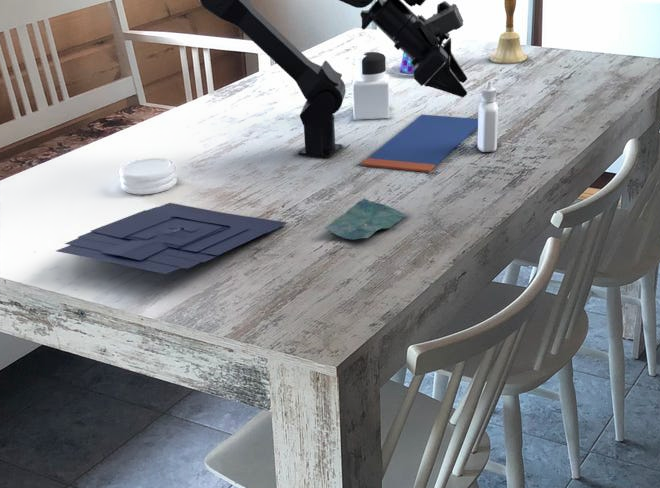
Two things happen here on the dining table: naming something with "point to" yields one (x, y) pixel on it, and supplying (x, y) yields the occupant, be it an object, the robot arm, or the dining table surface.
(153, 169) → the white round disc stack
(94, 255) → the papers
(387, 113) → the medicine bottle
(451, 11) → the robot arm
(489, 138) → the eye dropper bottle
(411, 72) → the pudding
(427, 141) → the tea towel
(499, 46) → the hand bell
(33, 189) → the dining table surface
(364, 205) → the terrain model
